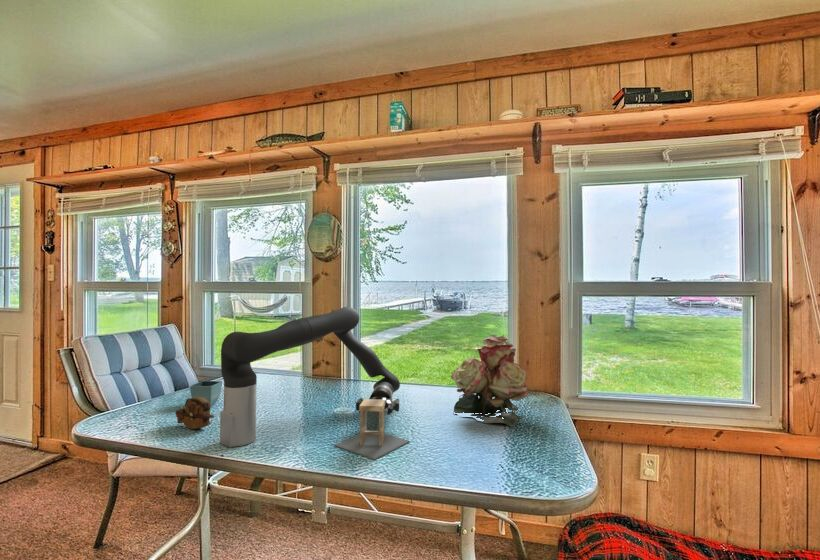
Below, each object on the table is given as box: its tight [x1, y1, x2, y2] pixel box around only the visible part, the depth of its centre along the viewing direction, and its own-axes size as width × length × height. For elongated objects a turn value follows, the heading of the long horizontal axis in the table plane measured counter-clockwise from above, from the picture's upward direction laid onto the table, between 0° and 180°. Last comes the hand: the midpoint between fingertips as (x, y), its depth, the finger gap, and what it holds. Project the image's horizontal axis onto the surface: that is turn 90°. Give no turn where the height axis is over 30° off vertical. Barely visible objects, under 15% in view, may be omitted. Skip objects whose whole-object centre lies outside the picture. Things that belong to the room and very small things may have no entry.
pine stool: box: [358, 398, 385, 447], centre depth 117 cm, size 7×7×12 cm
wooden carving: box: [175, 397, 215, 430], centre depth 130 cm, size 16×5×10 cm, turn 70°
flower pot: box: [189, 380, 223, 407], centre depth 156 cm, size 9×9×9 cm
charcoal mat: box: [334, 429, 411, 461], centre depth 117 cm, size 16×16×1 cm
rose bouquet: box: [450, 334, 530, 428], centre depth 146 cm, size 26×29×30 cm
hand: (375, 411), depth 122 cm, fingers open, 8 cm apart
